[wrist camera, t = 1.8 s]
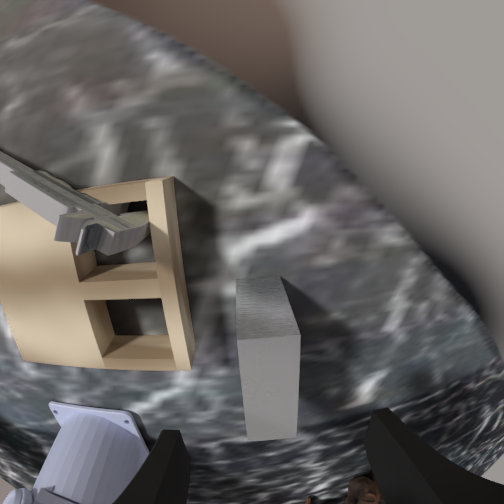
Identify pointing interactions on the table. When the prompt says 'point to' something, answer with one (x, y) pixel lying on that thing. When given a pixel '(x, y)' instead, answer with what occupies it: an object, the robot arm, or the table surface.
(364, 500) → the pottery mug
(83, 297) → the tan wooden flat block
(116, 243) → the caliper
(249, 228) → the table surface
